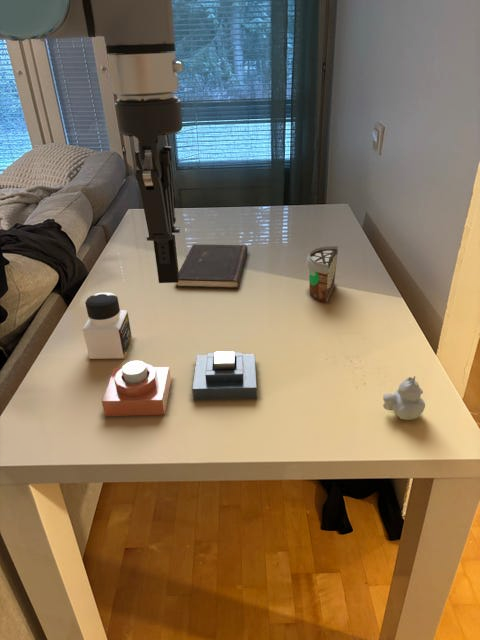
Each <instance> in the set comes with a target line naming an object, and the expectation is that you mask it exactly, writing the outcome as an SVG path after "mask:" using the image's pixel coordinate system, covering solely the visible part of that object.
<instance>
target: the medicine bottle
mask: <svg viewBox="0 0 480 640" xmlns="http://www.w3.org/2000/svg"><path fill="white" fill-rule="evenodd" d="M84 303H85V308H86V312H87V317H88V319H87V321H86V323H85V324H84V326H83V327H82V333H83V337H84V341H85V345H86V350H87V354H88V358H89V359H91V360H98V359H99V360H100V359H101V360H102V359H103V360H104V359H106V360H107V359H109V360H110V359H113V360H114V359H115V360H116V359H125V358H126V356H127V354H128V351H129V348H130V345H131V343H132V340H133V336H132V329H131V324H130V319H129V311H127V310H126V309H124V310H122V309H120V308H121V307H120V303H119V297H118V296H117V295H116V294H114V293H112V292H107V291H105V292H103V291H102V292H98V293H95V294H92V295H90V296H88V297H87V298H86V300H85V302H84Z"/></svg>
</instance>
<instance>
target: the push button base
mask: <svg viewBox="0 0 480 640" xmlns="http://www.w3.org/2000/svg"><path fill="white" fill-rule="evenodd" d="M214 354H215V352H207V353H206V354H197V355H196V358H195V365H194V372H193V373H194V374H193V381H192V388H191V390H192V400H193V401H199V400H200V401H201V400H202V401H203V400H236V399H237V400H238V399H239V400H240V399H242V400H244V399H257V398H258V396H257V395H258V388H257V385H258V384H257V369H256V353H244V352H235V370H224V371H214Z"/></svg>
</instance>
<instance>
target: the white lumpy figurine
mask: <svg viewBox="0 0 480 640" xmlns="http://www.w3.org/2000/svg"><path fill="white" fill-rule="evenodd" d="M423 393H424V391H423V389H422V388H421V387H420V384H419V383H418V381H417V380H416V375H414V376H413V377H412V376H409V377H406V378H405V379H404V380H403V381H401V382H400V384H399V386H398V388H397V390H395V392H394V393H384V394H383V395H382V399H383V404H382V406H383V407H382V408H383V409H385V410H387V411H392V412H393V414H395V416H397V417H398V418H399V419H400V420H405V421H407V420H408V421H410V420H416V419H418V418H419V417H420V416H421V415H422V413H423V412H424V411H425V408H426V403H425V401H424V399H423V398H422V397H421V395H423Z"/></svg>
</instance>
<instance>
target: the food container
mask: <svg viewBox="0 0 480 640" xmlns="http://www.w3.org/2000/svg"><path fill="white" fill-rule="evenodd" d="M338 255H339V246H338V245H324V246H319V247H316V248H314V249H312V250H311V251H310V252H309V253H308V255H307V258H306V262H305V264H306V266H307V268H308V275H309V276H308V278H309V280H308V281H309V295H310V297H311V298H313V299H315V300H316V301H319V302H322V303H327V302H328V300H329V297H330V296H331V293H332V292H333V290H334V287H335V281H336V273H337V272H336V271H337V262H338Z"/></svg>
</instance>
